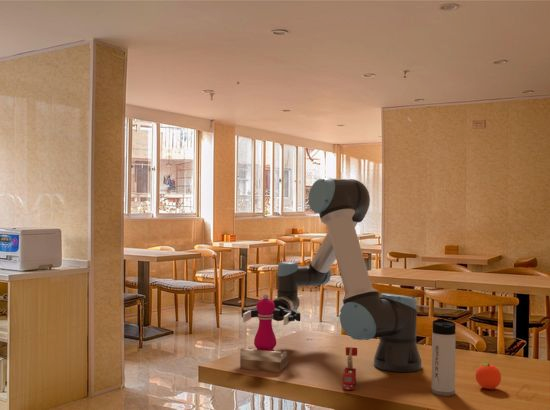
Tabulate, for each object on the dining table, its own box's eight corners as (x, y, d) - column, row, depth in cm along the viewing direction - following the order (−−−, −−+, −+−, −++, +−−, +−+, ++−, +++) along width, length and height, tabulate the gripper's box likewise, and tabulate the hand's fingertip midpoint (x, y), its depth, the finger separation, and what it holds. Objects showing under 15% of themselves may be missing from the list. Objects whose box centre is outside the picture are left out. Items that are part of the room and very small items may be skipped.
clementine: (467, 387, 169) (467, 362, 169) (478, 382, 174) (479, 358, 174) (494, 394, 163) (494, 368, 163) (505, 389, 168) (505, 364, 168)
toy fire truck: (342, 390, 164) (342, 356, 164) (346, 377, 178) (346, 345, 178) (354, 391, 164) (354, 356, 164) (357, 377, 177) (357, 345, 177)
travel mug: (450, 388, 167) (451, 318, 167) (458, 396, 161) (459, 322, 161) (428, 388, 167) (429, 318, 167) (435, 396, 160) (436, 322, 160)
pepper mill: (280, 355, 190) (281, 293, 190) (268, 360, 184) (269, 296, 184) (261, 352, 194) (262, 291, 194) (249, 356, 188) (250, 294, 188)
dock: (288, 363, 193) (288, 344, 193) (279, 372, 182) (280, 352, 182) (250, 359, 196) (251, 341, 196) (240, 368, 185) (240, 349, 185)
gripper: (315, 321, 205) (302, 333, 185) (247, 317, 212) (227, 328, 191) (315, 300, 205) (302, 309, 185) (247, 296, 212) (227, 305, 191)
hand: (264, 319), depth 188 cm, fingers open, 13 cm apart
